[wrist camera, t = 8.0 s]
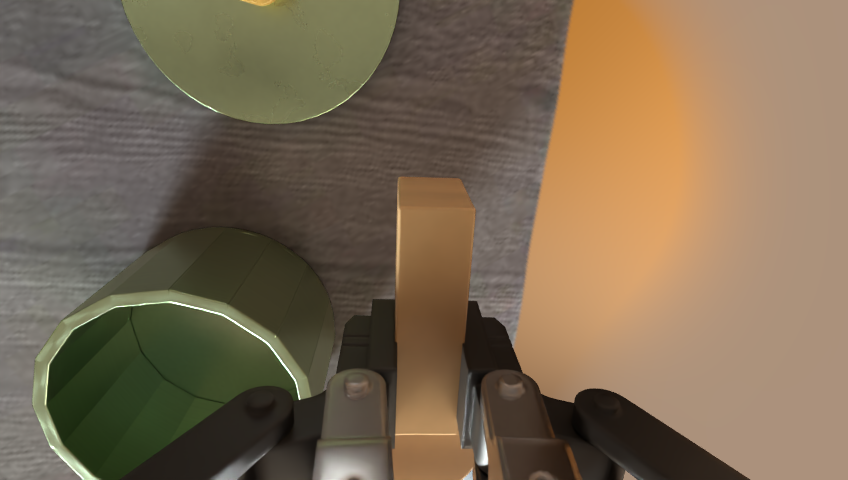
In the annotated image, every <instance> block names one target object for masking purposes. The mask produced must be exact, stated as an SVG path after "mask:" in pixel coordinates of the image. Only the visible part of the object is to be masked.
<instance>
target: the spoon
mask: <svg viewBox="0 0 848 480" xmlns="http://www.w3.org/2000/svg"><path fill="white" fill-rule="evenodd" d="M475 213H476V210H475V208H474V206H473V204H472V202H471V200H470V197H469V195H468V193H467V191H466V189H465V187H464V185H463V183H462V181H461V179H459V178H429V177H399V178H398V196H397V235H396V273H395V342H397V395H396V427H395V449H392V457H393V472H394V480H462V479H464V478H465V477H466V476H467V475H468V474H469V473H470V472H471V470H472V469H473V461H474V453H473V449H461V443H460V437H459V431H458V425H457V418H456V415H457V403H458V391H459V379H460V367H461V355H462V343H464V342H465V333H466V321H467V309H468V297H469V285H470V273H471V261H472V249H473V237H474V225H475Z"/></svg>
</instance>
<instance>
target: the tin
mask: <svg viewBox="0 0 848 480" xmlns="http://www.w3.org/2000/svg"><path fill="white" fill-rule="evenodd" d="M334 326H335V325H334V314H333V310H332V306H331V302H330V299H329V297H328V294H327V292H326V290H325V288H324V286H323V284H322V283H321V281H320V279H319V278H318V276H317V275H316V274H315V273H314V271H313V270H312V269H311V268H310V267H309V266H308V264H307V263H306V262H305V261H304V260H303V259H302V258H300V257H299V256H298V255H297V254H295V253H294V252H293V251H292V250H290V249H289V248H287V247H285V246H284V245H282V244H280V243H279V242H277V241H275V240H273V239H270V238H268V237H266V236H263V235H260V234H257V233H254V232H251V231H247V230H242V229H237V228H226V227H210V228H202V229H195V230H191V231H188V232H183V233H180V234H178V235H176V236H174V237H172V238H169V239H167V240H166V241H164V242H163V243H161V244H159V245H158V246H156V247H154V248H152V249H150V250H149V251H147V252H146V253H144V254H143V255H142V256H141V257H139V258H138V259H137V260H136V261H134V262H133V263H132V264H131V265H129V266H128V267H127V268H126V269H124V270H123V271H122V272H121V273H120V274H118V275H117V276H116V277H115V278H113V279H112V280H111V281H110V282H108V283H107V284H106V285H105V286H103V287H102V288H101V289H100V290H98V291H97V292H96V293H95V294H93V295H92V296H91V297H90V298H89V299H87V300H86V301H85V302H84V303H82V304H81V305H80V306H79V307H77V308H76V309H75V310H74V311H72V312H71V313H70V314H69V315H67V316H66V317H65V318H64V319H63V320H61V322H60V323H59V325H58V326H57V327H56V329H55V330H54V332H53V333H52V335H51V336H50V338H49V339H48V341H47V342H46V344H45V345H44V346H43V348H42V349H41V351H40V352H39V354H38V355H37V357H36V358H35V366H34V381H33V395H32V404H33V405H32V406H33V408H34V411H35V413H36V415H37V418H38V420H39V422H40V424H41V427H42V429H43V431H44V433H45V436H46V438H47V440H48V443H49V445H50V447H52V449H53V450H54V451H55V452H56V453H57V454H58V455H59V456H60V457H61V458H62V459H63V460H64V461H65V462H66V463H67V464H68V465H69V466H70V467H71V468H72V469H73V470H74V471H75V472H76V473H77V474H78V475H79V476H80V477H81V478H82V479H83V480H119V479H121V478H122V477H124V476H125V475H126V474H128V473H129V472H131V471H132V470H133V469H135V468H136V467H138V466H139V465H140V464H142V463H143V462H145V461H146V460H147V459H149V458H150V457H152V456H153V455H154V454H156V453H157V452H159V451H160V450H161V449H163V448H164V447H166V446H167V445H168V444H170V443H171V442H173V441H174V440H175V439H177V438H178V437H180V436H181V435H182V434H184V433H185V432H187V431H188V430H189V429H191V428H192V427H194V426H195V425H197V424H198V423H199V422H201V421H202V420H204V419H205V418H206V417H208V416H209V415H211V414H212V413H213V412H215V411H216V410H218V409H219V408H220V407H222V406H223V405H225V404H226V403H227V402H229V401H230V400H232V399H233V398H234V397H236V396H237V395H239V394H240V393H242V392H244V391H246V390H248V389H251V388H255V387H259V386H276V387H280V388H283V389H285V390H287V391H288V392H289V393H290V394H291V395H292V397H293V401H296V400H300V399H305V398H309V397H313V396H315V395H318V394H320V393H322V392H323V389H324V384H325V380H326V376H327V371H328V367H329V362H330V358H331V353H332V349H333V344H334V340H335V329H334Z"/></svg>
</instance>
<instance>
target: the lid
mask: <svg viewBox="0 0 848 480" xmlns="http://www.w3.org/2000/svg"><path fill="white" fill-rule="evenodd" d="M121 2H122V5H123V8H124V11H125V14H126V16H127V18H128V20H129V23H130V25H131V27H132V29H133V31H134V33H135V35H136V37H137V38H138V40H139V42H140V43H141V45H142V47H143V48H144V50H145V51H146V53H147V54H148V55H149V57H150V58H151V59H152V61H153V62H154V63H155V65H156V66H157V67H158V68H159V69H160V70H161V71H162V72H163V73H164V74H165V76H166V77H167V78H168V79H169V80H170V81H171V82H173V83H174V84H175V85H176V86H177V87H178V88H180V89H181V90H182V91H183V92H184V93H186V94H187V95H189V96H190V97H192V98H193V99H195V100H196V101H198V102H199V103H201V104H202V105H204V106H206V107H208V108H210V109H212V110H214V111H216V112H218V113H221V114H224V115H226V116H229V117H232V118H235V119H239V120H243V121H247V122H252V123H262V124H287V123H293V122H299V121H304V120H307V119H310V118H314V117H317V116H319V115H321V114H324V113H326V112H328V111H330V110H332V109H334V108H335V107H337V106H339V105H340V104H342V103H343V102H345V101H346V100H348V99H349V98H350V97H351V96H352V95H353V94H355V93H356V92H357V91H358V90H359V89H360V88H361V87H362V86H363V85H364V84H365V82H366V81H367V80H368V79H369V78H370V77H371V76H372V74H373V73H374V71H375V70H376V68H377V67H378V65H379V64H380V62H381V60H382V58H383V56H384V54H385V52H386V50H387V48H388V46H389V43H390V40H391V38H392V35H393V32H394V29H395V25H396V20H397V15H398V10H399V0H121Z"/></svg>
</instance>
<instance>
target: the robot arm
mask: <svg viewBox="0 0 848 480" xmlns="http://www.w3.org/2000/svg"><path fill="white" fill-rule="evenodd" d="M396 395H397V342H395V300H393V299H373V301H372V312H371V316H359V315H354V316H353V317H352V318H351V319H350V320H349V321H348V322H347V323H346V324H345V328H344V334H343V339H342V346H341V350H340V356H339V361H338V367H337V372H336V374H335V375H334V376H333V377H332V378H331V379H330V380H329V382H328V384H327V389H326V390H325V391H324V392H322V393H320V394H318V395H315V396H313V397H309V398H305V399H300V400H296V401H293V397H292V395H291V394H290V393H289V392H288V391H287V390H285V389H283V388H280V387H276V386H259V387H255V388H251V389H248V390H246V391H244V392H242V393H240V394H239V395H237V396H236V397H234V398H233V399H232V400H230V401H229V402H227V403H226V404H225V405H223V406H222V407H220V408H219V409H218V410H216V411H215V412H213V413H212V414H211V415H209V416H208V417H206V418H205V419H204V420H202V421H201V422H199V423H198V424H197V425H195V426H194V427H192V428H191V429H189V430H188V431H187V432H185V433H184V434H182V435H181V436H180V437H178V438H177V439H175V440H174V441H173V442H171V443H170V444H168V445H167V446H166V447H164V448H163V449H161V450H160V451H159V452H157V453H156V454H154V455H153V456H152V457H150V458H149V459H147V460H146V461H145V462H143V463H142V464H140V465H139V466H138V467H136V468H135V469H133V470H132V471H131V472H129V473H128V474H126V475H125V476H124V477H122V478H121V479H119V480H394V472H393V457H392V449H395V427H396ZM456 418H457V425H458V431H459V437H460V443H461V449H473V453H474V461H473V480H623V478H624V473H625V470H626V471H627V472H628V473H630V474H631V475H632V476H634V477H635V478H636V479H637V480H750V479H749V478H747V477H745V476H744V475H742V474H741V473H739V472H738V471H736V470H735V469H733V468H732V467H730V466H728V465H727V464H726V463H724V462H722V461H721V460H719V459H718V458H716V457H715V456H713V455H712V454H710V453H709V452H707V451H706V450H704V449H703V448H701V447H699V446H698V445H696V444H695V443H693V442H692V441H690V440H689V439H687V438H686V437H684V436H682V435H681V434H679V433H678V432H676V431H675V430H673V429H672V428H670V427H669V426H667V425H666V424H664V423H662V422H661V421H660V420H658V419H656V418H655V417H653V416H652V415H650V414H649V413H647V412H646V411H644V410H643V409H641V408H640V407H638V406H636V405H635V404H633V403H632V402H630V401H629V400H627V399H626V398H624V397H622V396H621V395H619V394H617V393H614V392H611V391H608V390H604V389H587V390H583V391H581V392H579V393H578V394H577V395H576V397H575V402H574V403H571V402H566V401H562V400H557V399H553V398H550V397H547V396H544V395H542V394H541V393H540V390H539V387H538V385H537V383H536V382H535V381H534V380H533V379H532V378H530V377H529V376H527V375H526V374H523V372H522V370H521V367H520V365H519V362H518V360H517V357H516V354H515V352H514V349H513V348H512V344H511V341H510V339H509V336H508V334H507V331H506V328H505V326H503V325H502V324H501V323H500V322H499V321H498V320H497V319H495V318H491V317H482V316H481V313H480V309H479V306H478V303H477V301H468V309H467V321H466V333H465V342H464V343H462V355H461V367H460V379H459V391H458V403H457V415H456Z"/></svg>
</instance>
